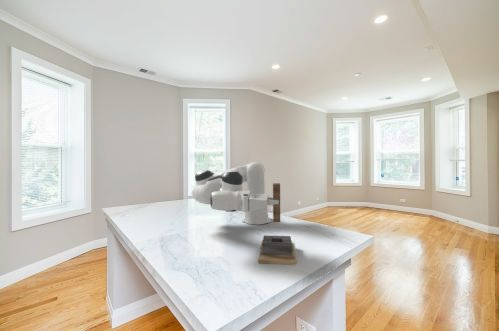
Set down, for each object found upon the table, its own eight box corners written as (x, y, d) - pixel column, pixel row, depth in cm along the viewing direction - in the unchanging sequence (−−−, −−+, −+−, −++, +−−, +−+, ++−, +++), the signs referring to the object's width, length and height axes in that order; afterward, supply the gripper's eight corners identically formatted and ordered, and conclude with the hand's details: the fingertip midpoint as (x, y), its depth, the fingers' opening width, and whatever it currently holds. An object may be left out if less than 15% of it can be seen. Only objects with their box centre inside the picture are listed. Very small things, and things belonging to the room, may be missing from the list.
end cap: (262, 241, 112) (262, 231, 112) (291, 242, 110) (291, 232, 110) (258, 263, 88) (258, 250, 88) (296, 264, 86) (296, 251, 86)
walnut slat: (273, 220, 100) (273, 183, 100) (280, 220, 100) (280, 183, 100) (273, 221, 98) (272, 183, 97) (280, 222, 97) (280, 183, 97)
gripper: (249, 203, 111) (278, 204, 109) (243, 213, 90) (279, 213, 89) (249, 190, 110) (278, 190, 109) (243, 196, 90) (279, 197, 89)
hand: (278, 201), depth 99 cm, fingers closed on walnut slat, 3 cm apart
